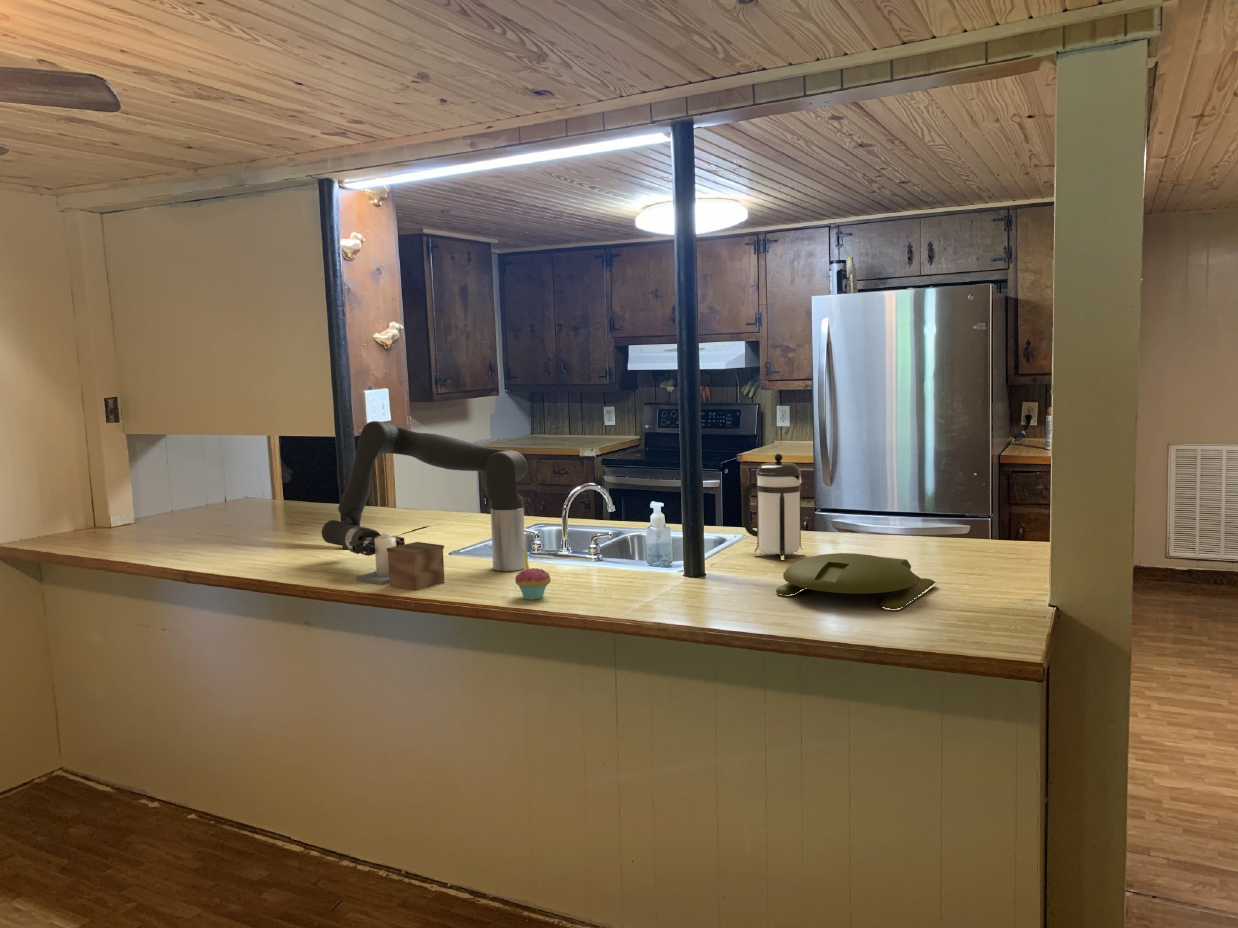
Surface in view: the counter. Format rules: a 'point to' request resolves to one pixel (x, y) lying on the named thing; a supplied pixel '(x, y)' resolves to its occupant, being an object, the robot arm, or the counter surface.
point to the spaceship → (856, 577)
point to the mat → (373, 578)
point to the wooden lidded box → (416, 565)
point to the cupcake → (532, 581)
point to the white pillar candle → (383, 553)
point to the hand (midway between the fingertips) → (388, 548)
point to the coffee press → (776, 507)
